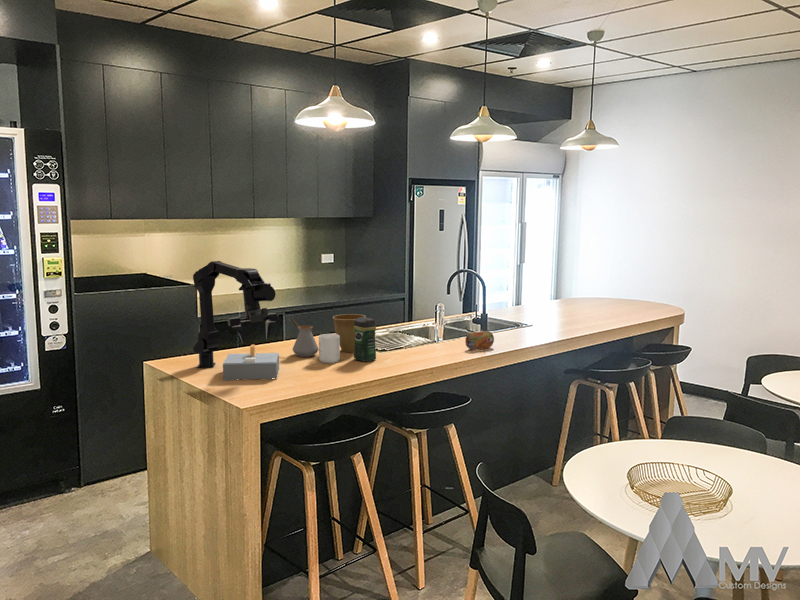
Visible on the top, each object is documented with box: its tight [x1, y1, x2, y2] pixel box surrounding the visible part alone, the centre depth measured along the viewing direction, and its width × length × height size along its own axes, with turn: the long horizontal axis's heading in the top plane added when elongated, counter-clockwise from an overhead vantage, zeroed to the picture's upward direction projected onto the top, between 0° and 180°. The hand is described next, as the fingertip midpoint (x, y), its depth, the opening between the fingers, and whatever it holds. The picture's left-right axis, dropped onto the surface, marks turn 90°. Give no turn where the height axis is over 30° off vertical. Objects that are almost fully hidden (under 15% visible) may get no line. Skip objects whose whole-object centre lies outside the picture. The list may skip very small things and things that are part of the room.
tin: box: [464, 330, 495, 351], centre depth 305 cm, size 15×3×8 cm, turn 118°
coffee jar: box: [353, 316, 377, 362], centre depth 281 cm, size 10×8×19 cm
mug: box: [318, 333, 341, 364], centre depth 279 cm, size 12×9×11 cm
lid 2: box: [222, 357, 277, 366], centre depth 251 cm, size 8×20×2 cm, turn 97°
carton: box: [222, 355, 280, 381], centre depth 255 cm, size 16×20×6 cm
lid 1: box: [226, 344, 280, 359], centre depth 258 cm, size 8×20×5 cm, turn 97°
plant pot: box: [332, 313, 366, 353], centre depth 298 cm, size 15×15×16 cm
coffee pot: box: [287, 317, 319, 358], centre depth 292 cm, size 21×12×15 cm, turn 34°
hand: (255, 341), depth 251 cm, fingers open, 9 cm apart
